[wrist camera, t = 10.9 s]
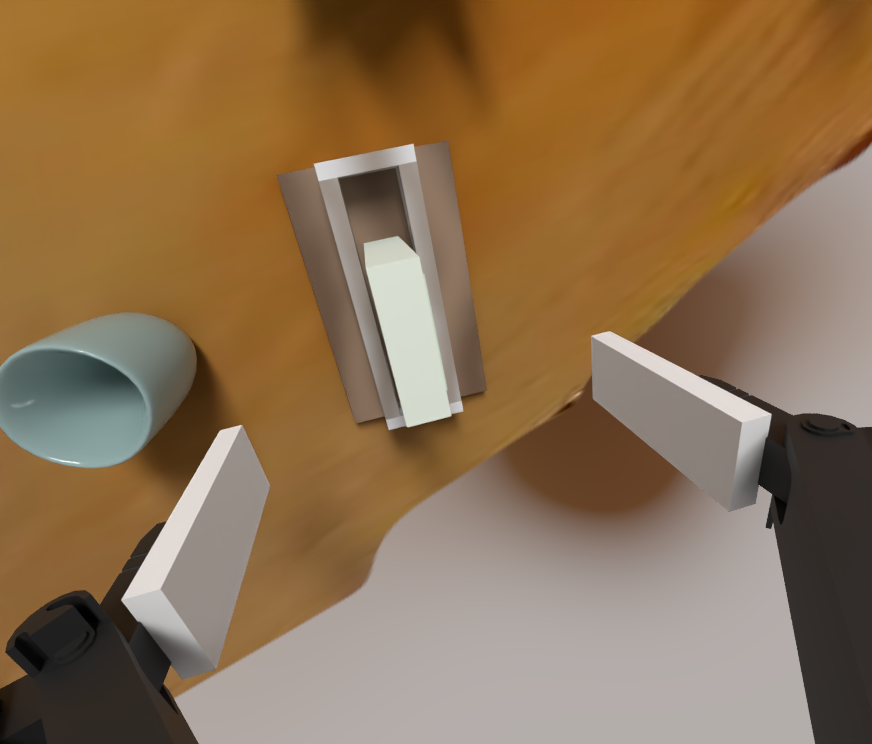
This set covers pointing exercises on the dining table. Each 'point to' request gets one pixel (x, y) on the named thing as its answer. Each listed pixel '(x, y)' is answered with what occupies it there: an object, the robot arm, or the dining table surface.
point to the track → (346, 271)
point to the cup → (96, 388)
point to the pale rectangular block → (408, 329)
